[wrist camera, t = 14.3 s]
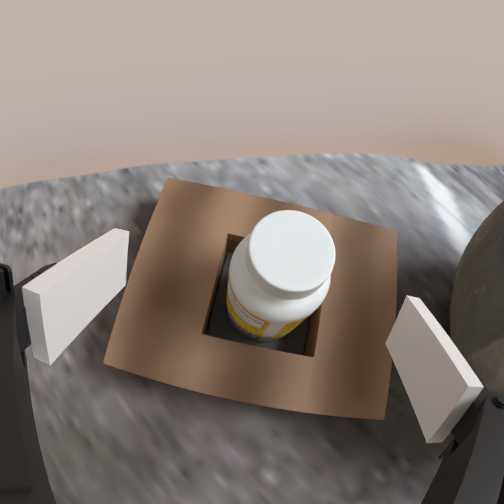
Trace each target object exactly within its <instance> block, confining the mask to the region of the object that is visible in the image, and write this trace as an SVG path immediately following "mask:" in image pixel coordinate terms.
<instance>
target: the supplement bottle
mask: <svg viewBox="0 0 504 504" xmlns="http://www.w3.org/2000/svg"><path fill="white" fill-rule="evenodd" d="M335 255H336V253H335V246H334V242H333V240H332V237H331V235H330V234H329V232H328V230H327V229H326V228H325V226H323V225H322V224H321V223H320V222H319V221H318V220H317V219H315V218H314V217H312V216H310V215H308V214H306V213H303V212H300V211H295V210H282V211H277V212H274V213H271V214H269V215H267V216H265V217H264V218H262V219H261V220H260V221H259V222H258V223H257V224H256V225H255V227H254V229H253V230H252V232H251V233H250V234H249V235H247V236H246V237H245V238H244V239H243V240H242V241H241V242H240V243H239V245H238V246H237V248H236V249H235V251H234V253H233V256H232V259H231V262H230V267H229V278H228V287H227V296H226V309H227V314H228V317H229V319H230V321H231V323H232V324H233V326H234V327H235V328H236V329H237V330H238V331H239V332H240V333H241V334H243V335H244V336H246V337H248V338H250V339H253V340H256V341H273V340H277V339H279V338H281V337H283V336H285V335H286V334H288V333H289V332H291V331H292V330H293V329H294V328H295V327H296V326H297V325H299V324H300V323H301V322H302V321H303V320H305V319H306V318H307V317H308V316H309V315H311V314H312V313H313V312H314V311H315V310H316V309H317V308H318V307H319V306H320V305H321V303H322V302H323V300H324V299H325V297H326V295H327V292H328V289H329V286H330V279H331V272H332V270H333V267H334V264H335Z"/></svg>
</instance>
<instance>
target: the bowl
mask: <svg viewBox="0 0 504 504" xmlns="http://www.w3.org/2000/svg"><path fill="white" fill-rule="evenodd" d="M450 339H451V340H452V342H453V343H454V344H455V346H456V347H457V349H458V350H459V351H460V353H461V354H462V355H463V356H464V357H465V358H466V359H467V360H468V361H469V363H470V364H471V366H472V368H473V369H474V370H475V372H476V375H478V376H479V377H480V379H481V380H482V382H483V383H484V385H485V386H486V388H487V389H488V391H489V392H497V393H499V394H502V395H503V396H504V201H503V202H502V203H501V204H500V205H498V206H497V207H496V208H495V209H494V210H493V212H492V213H491V214H490V215H489V216H488V217H487V218H486V219H485V220H484V221H483V223H482V224H481V225H480V227H479V228H478V229H477V231H476V232H475V234H474V235H473V237H472V239H471V240H470V242H469V243H468V245H467V247H466V249H465V251H464V253H463V255H462V257H461V260H460V262H459V265H458V268H457V272H456V275H455V278H454V283H453V290H452V297H451V304H450Z"/></svg>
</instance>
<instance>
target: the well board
mask: <svg viewBox="0 0 504 504" xmlns="http://www.w3.org/2000/svg"><path fill="white" fill-rule="evenodd" d="M282 210H295V211H300V212H303V213H306V214H308V215H310V216H312V217H314V218H315V219H317V220H318V221H319V222H320V223H321V224H322V225H323V226H325V228H326V229H327V230H328V232H329V234H330V235H331V237H332V240H333V242H334V246H335V253H336V255H335V264H334V267H333V270H332V272H331V279H330V286H329V289H328V292H327V295H326V297H325V299H324V300H323V302H322V303H321V305H320V306H319V307H318V308H317V309H316V310H315V311H314V312H313V313H312V314H311V315H309V316H310V319H309V316H308V317H307V318H306V319H305V320H303V321H302V322H301V323H300V324H299V325H297V326H296V327H295V328H294V329H293V330H292V331H291V332H289V333H288V334H286V335H285V336H283V337H281V338H279V339H277V340H273V341H256V340H253V339H250V338H248V337H246V336H244V335H243V334H241V333H240V332H239V331H238V330H237V329H236V328H235V327H234V326H233V324H232V323H231V321H230V319H229V317H228V314H227V309H226V296H227V287H228V278H229V267H230V262H231V259H232V256H233V253H234V251H235V249H236V248H237V246H238V245H239V243H240V242H241V241H242V240H243V239H244V238H245V237H246V236H247V235H249V234H250V233H251V232H252V230H253V229H254V227H255V225H256V224H257V223H258V222H259V221H260V220H261V219H262V218H264V217H265V216H267V215H269V214H271V213H274V212H277V211H282ZM226 252H227V256H226ZM225 256H226V260H225ZM224 260H225V264H224ZM223 264H224V268H223V272H222V275H221V271H222V267H223ZM220 275H221V279H220ZM219 279H220V283H219ZM218 283H219V287H218ZM217 287H218V291H217ZM216 291H217V295H216ZM215 295H216V299H215ZM214 299H215V303H214ZM396 302H397V231H394V230H390V229H387V228H383V227H379V226H376V225H372V224H368V223H365V222H361V221H357V220H353V219H350V218H346V217H342V216H338V215H334V214H330V213H326V212H322V211H318V210H314V209H310V208H306V207H302V206H298V205H294V204H290V203H285V202H281V201H277V200H272V199H268V198H264V197H259V196H255V195H250V194H246V193H241V192H236V191H232V190H227V189H222V188H217V187H213V186H208V185H203V184H198V183H193V182H188V181H182V180H177V179H172V178H168V179H167V181H166V183H165V186H164V188H163V190H162V193H161V195H160V198H159V200H158V202H157V205H156V207H155V210H154V212H153V215H152V217H151V220H150V222H149V225H148V227H147V230H146V233H145V235H144V238H143V240H142V243H141V246H140V249H139V251H138V254H137V257H136V259H135V262H134V265H133V268H132V271H131V274H130V277H129V279H128V282H127V285H126V288H125V291H124V294H123V297H122V300H121V304H120V307H119V310H118V313H117V316H116V319H115V323H114V326H113V329H112V333H111V336H110V340H109V343H108V347H107V350H106V354H105V357H104V361H103V363H104V364H107V365H109V366H112V367H115V368H118V369H121V370H124V371H127V372H130V373H133V374H136V375H139V376H143V377H146V378H149V379H152V380H156V381H159V382H163V383H166V384H170V385H173V386H177V387H181V388H184V389H188V390H192V391H196V392H200V393H204V394H208V395H212V396H217V397H221V398H226V399H230V400H235V401H240V402H245V403H250V404H255V405H261V406H266V407H272V408H278V409H284V410H291V411H297V412H305V413H312V414H320V415H329V416H339V417H349V418H362V419H377V420H384V418H385V412H386V405H387V398H388V391H389V384H390V376H391V367H392V357H391V355H390V353H389V350H388V348H387V346H386V344H385V343H386V341H387V339H388V336H389V334H390V332H391V330H392V328H393V326H394V323H395V320H396ZM213 303H214V307H213ZM212 307H213V311H212ZM211 311H212V315H211V319H210V323H209V318H210V314H211ZM308 322H309V325H308ZM208 323H209V327H208ZM207 327H208V331H207ZM307 329H308V331H307ZM206 331H207V335H206ZM306 335H307V338H306ZM305 341H306V344H305ZM304 347H305V350H304ZM303 353H304V355H303Z"/></svg>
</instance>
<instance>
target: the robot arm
mask: <svg viewBox="0 0 504 504" xmlns="http://www.w3.org/2000/svg"><path fill="white" fill-rule="evenodd" d="M128 242H129V231H125V230H121V229H117V228H114V229H113V230H111V231H109V232H108V233H106V234H104V235H102V236H101V237H99V238H97V239H96V240H94V241H92V242H91V243H89V244H88V245H86V246H84V247H83V248H81V249H79V250H78V251H76V252H75V253H73V254H71V255H70V256H68V257H67V258H65V259H64V260H62V261H60V262H59V263H53V264H50V265H47V266H44V267H43V268H41V269H39V270H38V271H37V272H36V273H33V274H32V275H30V277H27V278H26V279H24V280H23V281H21V282H20V283H18V284H17V285H15V286H14V287H13V278H12V270H11V268H10V267H9V266H8V265H5V264H0V504H56V502H55V499H54V496H53V493H52V490H51V487H50V484H49V480H48V477H47V473H46V469H45V466H44V462H43V458H42V454H41V450H40V445H39V441H38V436H37V431H36V426H35V421H34V415H33V409H32V403H31V396H30V389H29V381H28V371H27V361H26V355H25V349H26V348H27V347H28V346H29V345H30V344H31V348H32V352H33V357H34V358H36V359H38V360H40V361H42V362H44V363H46V364H48V365H51V364H52V363H53V362H54V361H55V360H56V359H57V357H58V356H59V355H60V354H61V353H62V352H63V351H64V350H65V349H66V347H67V346H68V345H69V344H70V343H71V342H72V341H73V340H74V339H75V338H76V337H77V335H78V334H79V333H80V332H81V331H82V330H83V329H84V328H85V327H86V326H87V325H88V324H89V323H90V322H91V320H92V319H93V318H94V317H95V316H96V315H97V314H98V313H99V312H100V311H101V310H102V309H103V308H104V307H105V306H106V305H107V304H108V303H109V302H110V301H111V300H112V299H113V298H114V297H115V295H116V294H117V293H118V292H119V291H120V290H121V289H122V288H123V287H124V286H125V285H126V270H127V255H128ZM385 344H386V346H387V348H388V350H389V353H390V355H391V357H392V359H393V362H394V364H395V366H396V368H397V371H398V373H399V375H400V378H401V380H402V382H403V385H404V387H405V389H406V392H407V394H408V397H409V399H410V401H411V404H412V406H413V409H414V411H415V414H416V416H417V419H418V421H419V424H420V427H421V429H422V432H423V434H424V437H425V440H426V442H427V443H442V442H443V441H444V440H445V439H446V438H447V436H448V435H449V434H450V433H451V431H452V433H453V435H454V437H455V439H454V440H453V441H452V442H451V443H450V444H449V446H448V447H447V448H446V449H445V450H444V451H443V453H442V454H441V455H440V456H439V457H438V458H439V459H441V458H442V457H443V456H444V458H443V460H442V463H441V465H440V467H439V469H438V471H437V473H436V475H435V477H434V480H433V482H432V484H431V486H430V488H429V489H428V491H427V493H426V495H425V497H424V499H423V501H422V503H421V504H504V396H503V395H502V394H499V393H497V392H489V391H488V389H487V388H486V386H485V385H484V383H483V382H482V380H481V379H480V377H479V376H478V375H476V372H475V370H474V369H473V368H472V366H471V364H470V363H469V361H468V360H467V359H466V358H465V357H464V356H463V355H462V354H461V353H460V351H459V350H458V349H457V347H456V346H455V344H454V343H453V342H452V340H451V339H450V337H449V336H448V335H447V333H446V332H445V331H444V329H443V328H442V327H441V325H440V324H439V323H438V321H437V320H436V319H435V317H434V316H433V315H432V313H431V312H430V311H429V310H428V308H427V307H426V306H425V304H424V303H423V302H422V301H421V299H420V298H417V297H412V296H408V295H406V298H405V300H404V303H403V305H402V307H401V310H400V312H399V314H398V317H397V319H396V321H395V323H394V326H393V328H392V330H391V332H390V334H389V336H388V339H387V341H386V343H385Z"/></svg>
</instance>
